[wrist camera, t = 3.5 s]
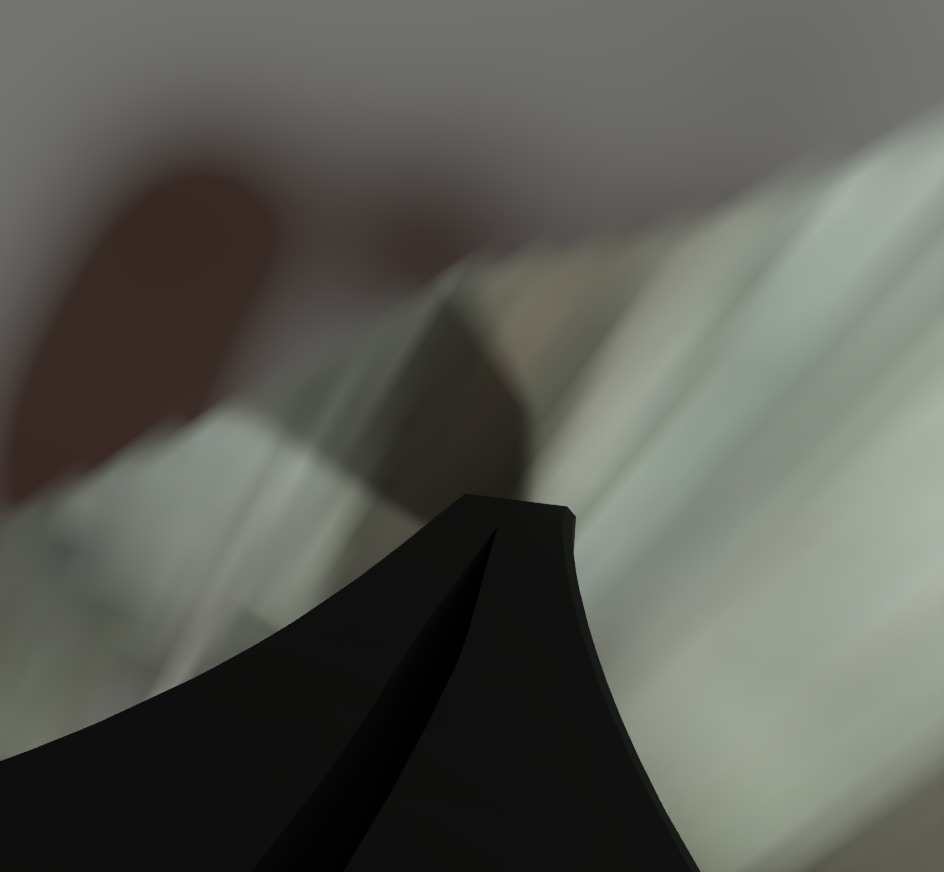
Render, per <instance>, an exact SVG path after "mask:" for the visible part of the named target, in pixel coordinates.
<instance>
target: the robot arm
mask: <svg viewBox="0 0 944 872" xmlns="http://www.w3.org/2000/svg"><path fill="white" fill-rule="evenodd" d="M575 523H576V516H575V515H574V514H573V513H572V512H571V510H570V509H569V508H568V507H567V506H558V505H550V504H542V503H534V502H526V501H518V500H510V499H501V498H493V497H485V496H477V495H469V494H465V495H463V496H462V497H461V498H459V499H458V500H457V501H456V502H454V503H453V504H452V505H450V506H449V507H448V508H446V509H445V510H444V511H443V512H441V513H440V514H439V515H438V516H436V517H435V518H434V519H433V520H431V521H430V522H429V523H428V524H427V525H425V526H424V527H423V528H422V529H420V530H419V531H418V532H417V533H415V534H414V535H413V536H412V537H410V538H409V539H408V540H407V541H405V542H404V543H403V544H402V545H400V546H399V547H398V548H397V549H395V550H394V551H393V552H391V553H390V554H389V555H387V556H386V557H385V558H383V559H382V560H381V561H380V562H378V563H377V564H376V565H374V566H373V567H372V568H370V569H369V570H368V571H366V572H365V573H364V574H362V575H361V576H360V577H359V578H357V579H356V580H354V581H353V582H352V583H350V584H349V585H347V586H346V587H344V588H343V589H341V590H340V591H338V592H337V593H335V594H334V595H333V596H331V597H330V598H328V599H327V600H325V601H324V602H322V603H321V604H319V605H318V606H316V607H315V608H313V609H312V610H311V611H309V612H308V613H306V614H305V615H303V616H302V617H300V618H299V619H297V620H296V621H294V622H292V623H291V624H289V625H288V626H286V627H284V628H283V629H281V630H280V631H278V632H276V633H275V634H273V635H271V636H270V637H268V638H266V639H264V640H263V641H261V642H259V643H258V644H256V645H254V646H252V647H251V648H249V649H247V650H245V651H243V652H241V653H240V654H238V655H236V656H234V657H232V658H231V659H229V660H227V661H225V662H223V663H221V664H220V665H218V666H216V667H214V668H212V669H210V670H209V671H207V672H205V673H203V674H201V675H199V676H197V677H195V678H193V679H191V680H189V681H187V682H184V683H182V684H180V685H178V686H176V687H174V688H172V689H169V690H167V691H165V692H163V693H161V694H159V695H157V696H154V697H152V698H150V699H148V700H146V701H144V702H141V703H139V704H137V705H135V706H133V707H131V708H129V709H126V710H124V711H122V712H120V713H118V714H116V715H114V716H111V717H109V718H107V719H105V720H103V721H101V722H98V723H96V724H94V725H91V726H89V727H86V728H84V729H82V730H79V731H77V732H74V733H72V734H69V735H67V736H64V737H62V738H59V739H57V740H54V741H52V742H49V743H47V744H44V745H42V746H39V747H37V748H34V749H32V750H29V751H27V752H24V753H21V754H19V755H16V756H13V757H10V758H8V759H5V760H2V761H0V872H700V870H699V868H698V867H697V865H696V863H695V862H694V860H693V858H692V856H691V855H690V853H689V851H688V849H687V848H686V846H685V844H684V842H683V841H682V839H681V837H680V835H679V834H678V832H677V830H676V828H675V827H674V825H673V823H672V822H671V820H670V818H669V816H668V815H667V813H666V811H665V809H664V807H663V805H662V803H661V802H660V799H659V797H658V795H657V793H656V791H655V789H654V787H653V785H652V783H651V781H650V779H649V777H648V775H647V773H646V771H645V769H644V767H643V765H642V763H641V761H640V759H639V757H638V755H637V753H636V750H635V748H634V746H633V744H632V741H631V739H630V737H629V735H628V733H627V730H626V728H625V726H624V724H623V721H622V719H621V717H620V714H619V712H618V709H617V707H616V704H615V702H614V699H613V697H612V694H611V691H610V689H609V686H608V684H607V681H606V678H605V675H604V672H603V669H602V666H601V664H600V661H599V658H598V655H597V652H596V649H595V646H594V643H593V639H592V636H591V633H590V629H589V626H588V622H587V618H586V614H585V610H584V606H583V602H582V598H581V594H580V590H579V585H578V580H577V575H576V568H575V561H574V554H573V552H574V538H575Z"/></svg>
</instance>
